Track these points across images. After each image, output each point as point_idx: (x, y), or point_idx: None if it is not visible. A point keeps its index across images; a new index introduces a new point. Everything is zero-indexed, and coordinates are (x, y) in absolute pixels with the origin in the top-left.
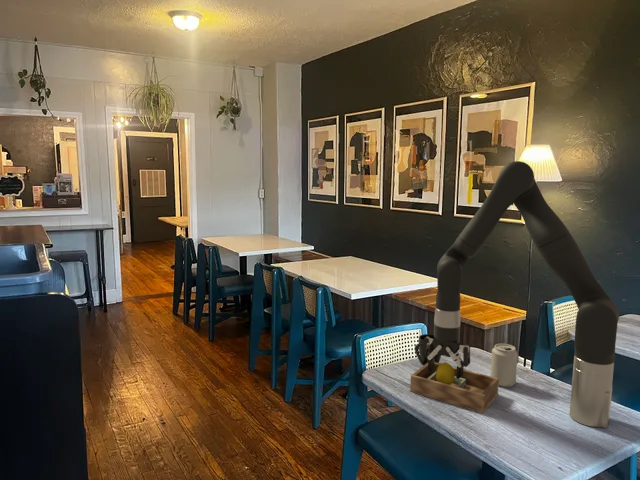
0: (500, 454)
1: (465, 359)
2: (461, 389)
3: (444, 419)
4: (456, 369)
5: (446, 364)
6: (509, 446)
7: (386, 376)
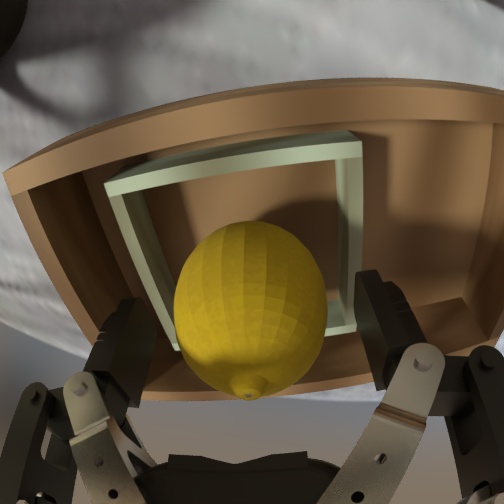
0: None
1: (471, 449)
2: None
3: (356, 390)
4: (260, 128)
5: (266, 391)
6: None
7: (10, 291)
